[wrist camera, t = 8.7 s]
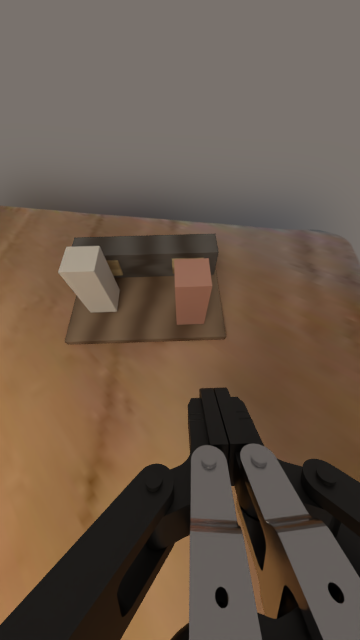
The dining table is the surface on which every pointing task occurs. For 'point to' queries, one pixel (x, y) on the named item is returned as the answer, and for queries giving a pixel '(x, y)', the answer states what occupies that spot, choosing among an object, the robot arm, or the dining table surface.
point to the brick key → (192, 290)
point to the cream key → (90, 278)
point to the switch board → (147, 291)
